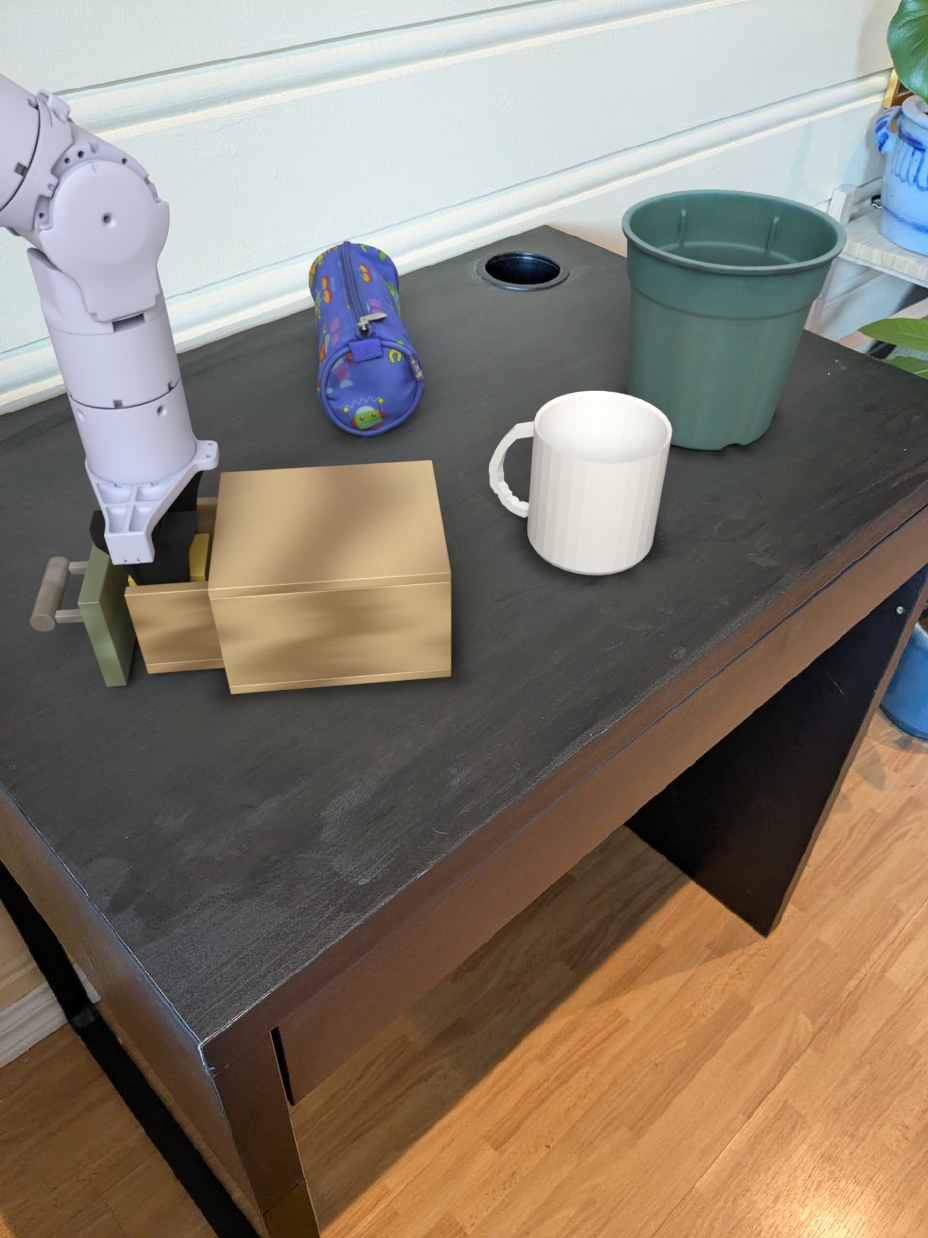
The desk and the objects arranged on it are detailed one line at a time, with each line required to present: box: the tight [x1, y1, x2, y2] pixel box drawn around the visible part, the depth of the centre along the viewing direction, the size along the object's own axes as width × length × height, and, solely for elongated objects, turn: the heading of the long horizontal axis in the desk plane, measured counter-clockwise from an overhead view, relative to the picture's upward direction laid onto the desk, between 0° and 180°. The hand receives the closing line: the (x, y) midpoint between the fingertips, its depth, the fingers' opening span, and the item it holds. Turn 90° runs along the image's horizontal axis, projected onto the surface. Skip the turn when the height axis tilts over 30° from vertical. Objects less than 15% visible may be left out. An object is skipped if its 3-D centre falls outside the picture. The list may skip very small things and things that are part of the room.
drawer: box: [29, 496, 225, 688], centre depth 59 cm, size 16×10×7 cm, turn 97°
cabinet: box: [207, 459, 452, 695], centre depth 60 cm, size 13×11×8 cm
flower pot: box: [621, 188, 848, 451], centre depth 77 cm, size 16×16×16 cm
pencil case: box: [308, 240, 425, 438], centre depth 83 cm, size 22×9×10 cm, turn 9°
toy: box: [128, 533, 212, 586], centre depth 58 cm, size 4×4×5 cm
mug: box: [488, 390, 672, 576], centre depth 67 cm, size 12×9×9 cm
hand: (175, 581), depth 59 cm, fingers closed on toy, 4 cm apart
